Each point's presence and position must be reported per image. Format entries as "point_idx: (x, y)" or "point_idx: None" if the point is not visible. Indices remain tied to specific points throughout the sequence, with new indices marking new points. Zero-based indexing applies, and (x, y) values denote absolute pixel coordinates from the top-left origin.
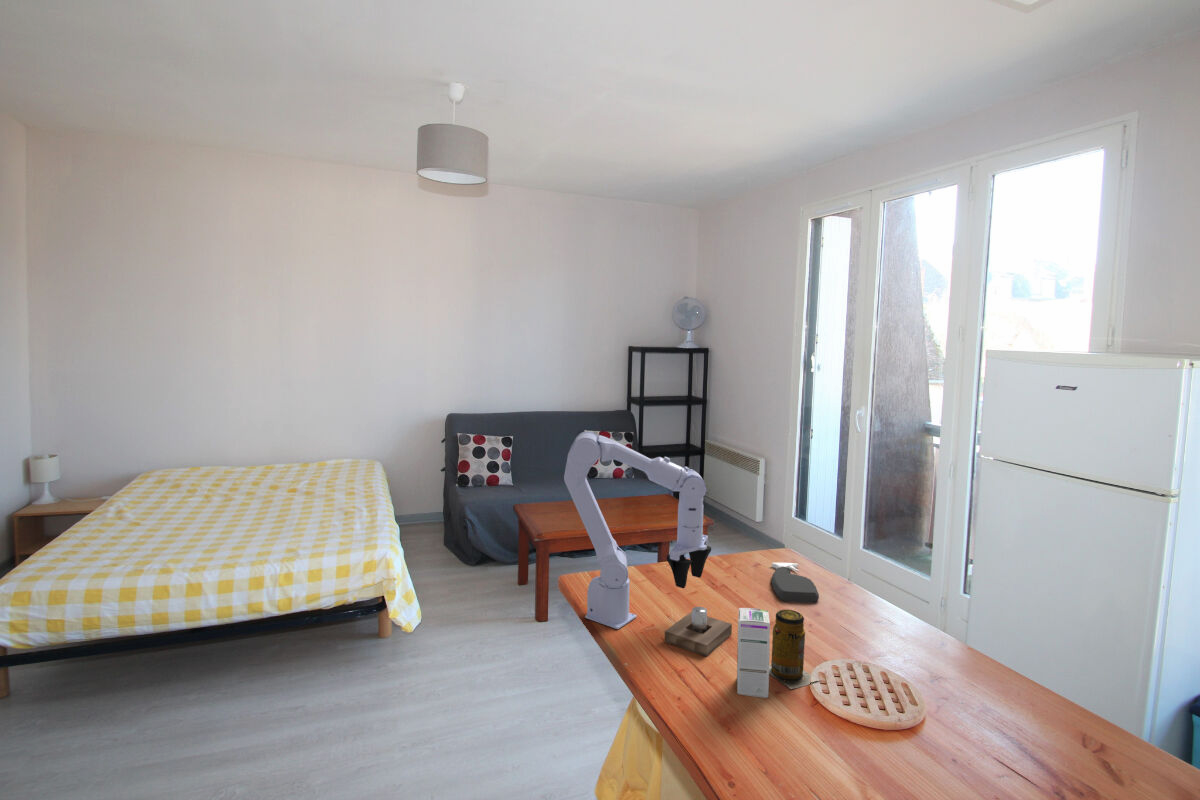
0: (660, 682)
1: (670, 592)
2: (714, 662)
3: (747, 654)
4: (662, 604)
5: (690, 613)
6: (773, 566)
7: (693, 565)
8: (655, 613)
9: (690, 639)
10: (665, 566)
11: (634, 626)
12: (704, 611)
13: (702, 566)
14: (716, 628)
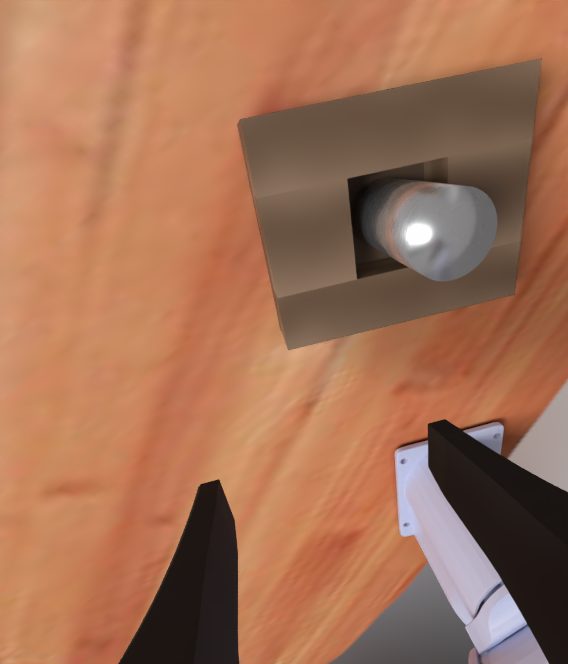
0: None
1: (154, 522)
2: (521, 3)
3: None
4: (252, 473)
5: (308, 339)
6: None
7: (231, 597)
8: (325, 439)
9: (527, 165)
10: (13, 655)
11: (446, 411)
12: (454, 201)
13: (206, 558)
14: (350, 148)
